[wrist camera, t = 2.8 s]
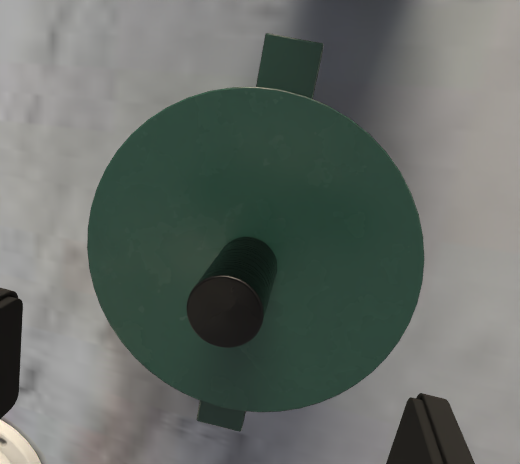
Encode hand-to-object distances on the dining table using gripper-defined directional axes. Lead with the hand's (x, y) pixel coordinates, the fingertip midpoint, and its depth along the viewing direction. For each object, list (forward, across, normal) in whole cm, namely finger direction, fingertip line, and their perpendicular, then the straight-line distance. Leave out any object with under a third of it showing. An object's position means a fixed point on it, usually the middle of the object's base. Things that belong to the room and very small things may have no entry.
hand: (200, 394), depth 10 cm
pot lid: (+10, 0, 0) cm, 10 cm away
